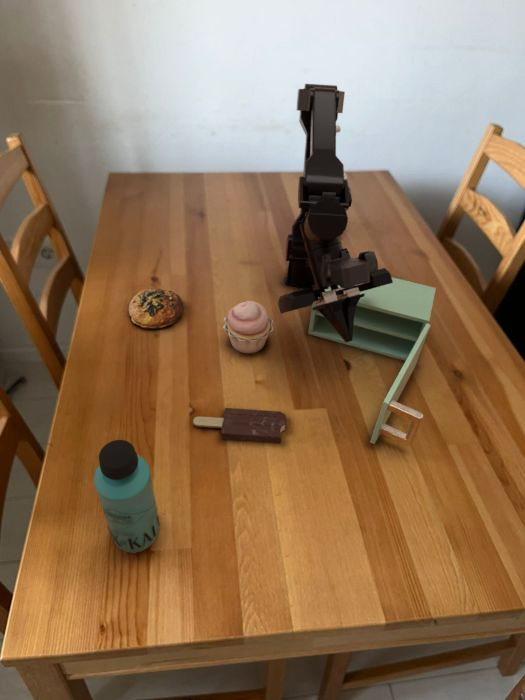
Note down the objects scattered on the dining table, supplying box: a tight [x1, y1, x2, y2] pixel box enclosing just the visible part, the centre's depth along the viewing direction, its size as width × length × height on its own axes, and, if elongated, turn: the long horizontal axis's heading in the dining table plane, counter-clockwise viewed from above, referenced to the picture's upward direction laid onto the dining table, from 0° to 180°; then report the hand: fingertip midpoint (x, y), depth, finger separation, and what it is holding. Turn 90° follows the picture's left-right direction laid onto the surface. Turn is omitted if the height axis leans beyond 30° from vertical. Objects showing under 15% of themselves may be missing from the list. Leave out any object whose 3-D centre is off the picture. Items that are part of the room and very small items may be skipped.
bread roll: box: [128, 287, 185, 330], centre depth 101 cm, size 11×11×5 cm
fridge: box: [307, 276, 437, 362], centre depth 97 cm, size 10×21×11 cm, turn 70°
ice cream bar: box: [192, 407, 287, 444], centre depth 83 cm, size 5×2×15 cm
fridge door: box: [369, 323, 431, 447], centre depth 84 cm, size 6×21×10 cm, turn 149°
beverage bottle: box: [93, 439, 161, 553], centre depth 62 cm, size 6×7×20 cm
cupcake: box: [222, 300, 275, 355], centre depth 94 cm, size 9×9×10 cm
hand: (348, 341), depth 84 cm, fingers closed
